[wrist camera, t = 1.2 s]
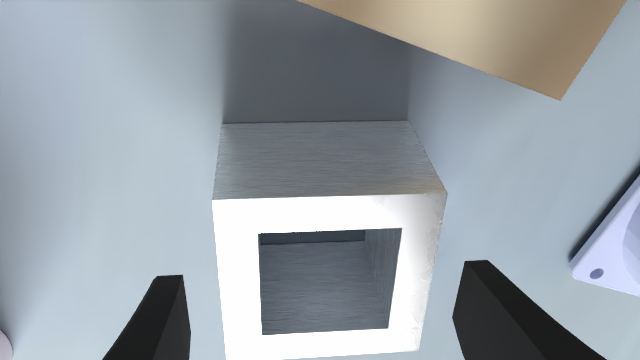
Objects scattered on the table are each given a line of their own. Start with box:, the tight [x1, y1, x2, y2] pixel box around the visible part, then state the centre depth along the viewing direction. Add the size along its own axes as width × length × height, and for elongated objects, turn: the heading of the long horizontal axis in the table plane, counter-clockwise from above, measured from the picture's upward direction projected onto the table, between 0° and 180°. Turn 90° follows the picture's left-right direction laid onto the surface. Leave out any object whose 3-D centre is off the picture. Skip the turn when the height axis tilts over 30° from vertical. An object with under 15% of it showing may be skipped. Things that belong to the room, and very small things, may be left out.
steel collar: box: [212, 121, 447, 360], centre depth 16 cm, size 6×6×4 cm
